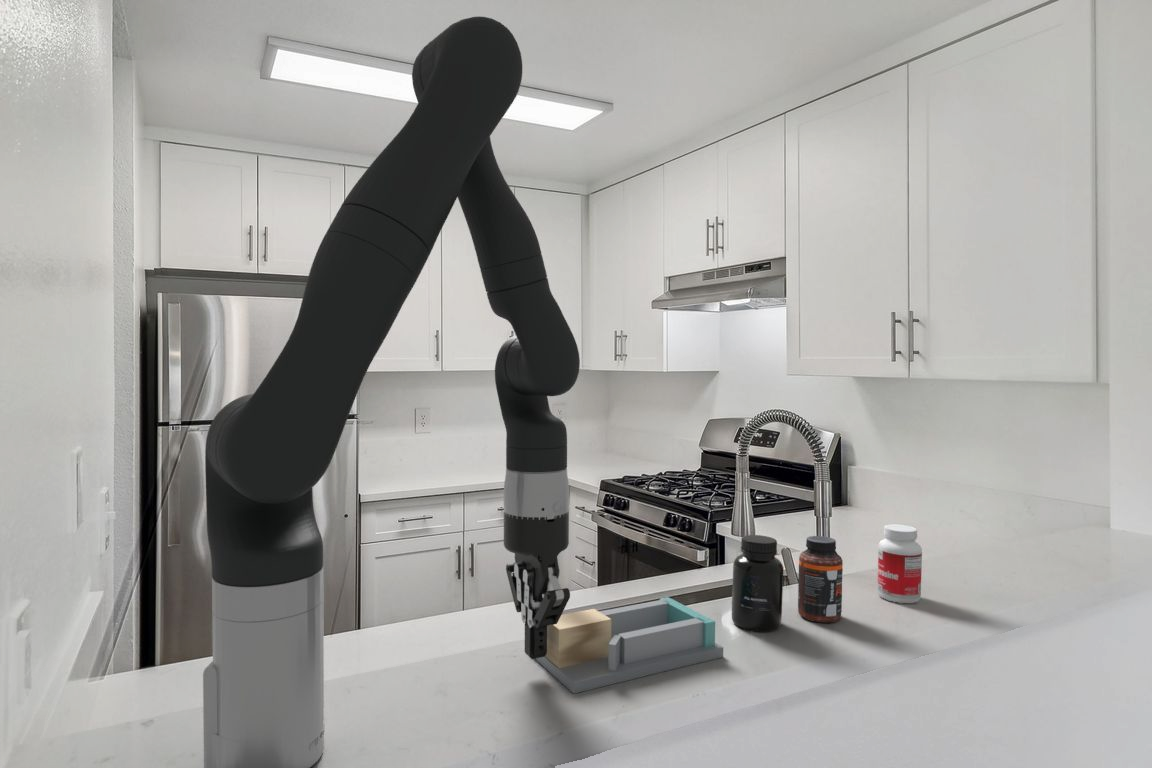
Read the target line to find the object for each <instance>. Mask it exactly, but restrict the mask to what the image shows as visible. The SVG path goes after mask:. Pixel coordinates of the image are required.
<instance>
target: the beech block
mask: <svg viewBox="0 0 1152 768" xmlns="http://www.w3.org/2000/svg"><path fill="white" fill-rule="evenodd" d="M610 641H611V619H610V618H609V617H607V616H605V615H604V614H602V613H601V612H599V610H597V609H596V608H590V609H586V610H585V609H584V610H580V611H579V610H578V611H574V612H569V613H565V614H563V613H562V615H561V617H560V619H559V621H558V623H557V624H554V625H547V654H546V655H545V657H546V658H547V659H549V660H550V661H551V662H552V663H553V664H555V665H556V666H557V667H558V668H562V667H567V666H571V665H575V664H580V663H584V662H588V661H593V660H597V659H601V658H606V657H609V643H610Z"/></svg>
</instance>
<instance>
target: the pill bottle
mask: <svg viewBox="0 0 1152 768" xmlns="http://www.w3.org/2000/svg"><path fill="white" fill-rule="evenodd" d="M883 534H884V537H885V538H884V539H881V540H880V542H878V552H877V553H878V554H877V584H876V585H877V586H876V587H877V588H876V589H877V595H878V596H879V597H880V598H882V599H883V598H884V600H885V599H886V601H888V600H889V601H888V602H891V601H893V602H892V603H895V602H899V603H898V604H903V603H911V604H916V603H918V602H919V601H920V600H921V597H922V567H923V566H922V565H923V564H922V563H923V562H922V561H923V560H922V559H923V548H922V547H921V544H919V543H918V542H916V540H917V539H918V529H917V528H916V527H913V526H911V525H906V524H905V525H904V524H899V523H894V524H893V523H892V524H885V525H884V526H883ZM915 602H916V603H915Z"/></svg>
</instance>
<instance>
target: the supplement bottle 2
mask: <svg viewBox="0 0 1152 768" xmlns="http://www.w3.org/2000/svg"><path fill="white" fill-rule="evenodd" d="M805 541H806V544H805V546H806V550H803V551H802V552H801V553H800V554H799V556H798V557H799V558H798V579H797V580H798V583H797V584H798V586H797V587H798V589H797V592H798V593H797V594H798V595H797V612H798V615H800V616H801V617H802V618H804V619H805V620H808V621H811V622H816V623H824V624H825V623H826V624H827V623H828V624H831V623H836V622H838V621H840V619H841V618H842V609H843V607H842V606H843V605H842V603H843V565H844V563H843V559H842V558H843V557H841V556H840V554H838V552H837V551H836V549H837V543H836V542H837V541H836V539H835V538H833V537H828V536H822V535H811V536H808V537H806V540H805Z"/></svg>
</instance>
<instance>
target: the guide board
mask: <svg viewBox="0 0 1152 768" xmlns="http://www.w3.org/2000/svg"><path fill="white" fill-rule="evenodd" d="M598 611H599V610H598ZM599 612H601V613H602V614H604V615H605V616H607V617H609V618H610V619H611V641H610V643H609V657H606V658H601V659H597V660H593V661H588V662H584V663H580V664H575V665H571V666H567V667H562V668H558V667H557V666H556V665H555V664H553V663H552V662H551V661H550V660H549V659H547V658H546V657H545V656H544V657H540V658H535V659H534V660H536V661H537V663H539V664H540V665H541V666H542V667H543V668H544V669H546V670H547V671H548V672H549V673H551V675H552V676H553V677H554V678H556V679H557V680H558V681H559V682H560V683H561V684H562V685H563V686H564V687H566V689H568V690H569V691H570V692H571V693H572V694H577V693H581V692H586V691H590V690H593V689H594V690H595V689H598V688H602V687H606V686H610V685H613V684H619V683H622V682H626V681H631V680H635V679H638V678H642V677H647V676H652V675H654V674H659V673H663V672H666V671H671V670H675V669H679V668H683V667H687V666H691V665H695V664H700V663H704V662H707V661H711V660H712V661H713V660H715V659H720V658H724V646H722V645H720V644H719V643H716V621H715V620H713V619H711V618H710V617H707V616H706V615H704V614H702V613H700V612H699V611H696V610H694V609H692V608H690V607H688V606H686V605H684V604H683V603H680V602H678V601H677V600H675V599H672V598H670V597H669V596H666V597H662V598H658V600H653V601H649V602H642V603H637V604H631V605H626V606H620V607H616V608H611V609H606V610H605V609H604V610H600V611H599Z"/></svg>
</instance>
